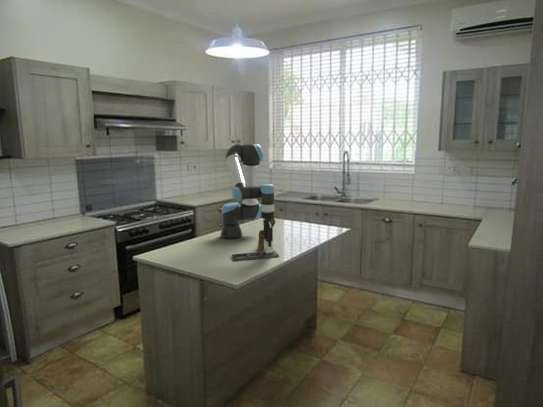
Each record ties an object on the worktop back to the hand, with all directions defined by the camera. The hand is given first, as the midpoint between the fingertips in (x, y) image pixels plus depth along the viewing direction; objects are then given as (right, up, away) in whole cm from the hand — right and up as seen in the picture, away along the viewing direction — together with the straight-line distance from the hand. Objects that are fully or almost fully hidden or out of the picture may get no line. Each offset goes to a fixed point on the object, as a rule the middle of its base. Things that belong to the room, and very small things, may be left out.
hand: (268, 250), depth 226 cm
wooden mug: (-1, 0, +16) cm, 16 cm away
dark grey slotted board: (-8, -3, -2) cm, 8 cm away
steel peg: (0, -2, 0) cm, 2 cm away
